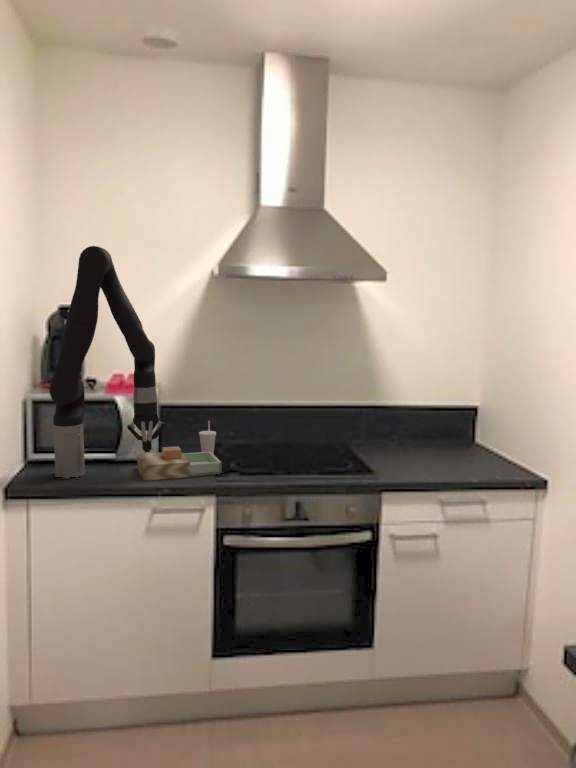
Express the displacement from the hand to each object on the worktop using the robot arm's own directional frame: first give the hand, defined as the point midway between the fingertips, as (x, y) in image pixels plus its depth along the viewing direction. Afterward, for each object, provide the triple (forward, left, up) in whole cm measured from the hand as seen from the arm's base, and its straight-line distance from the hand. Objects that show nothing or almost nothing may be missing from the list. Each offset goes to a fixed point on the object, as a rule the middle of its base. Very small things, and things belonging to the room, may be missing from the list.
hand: (147, 451), depth 215 cm
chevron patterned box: (+5, 0, -8) cm, 9 cm away
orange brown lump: (+8, 0, -3) cm, 9 cm away
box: (+18, 0, -8) cm, 20 cm away
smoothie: (+24, +14, -8) cm, 29 cm away
